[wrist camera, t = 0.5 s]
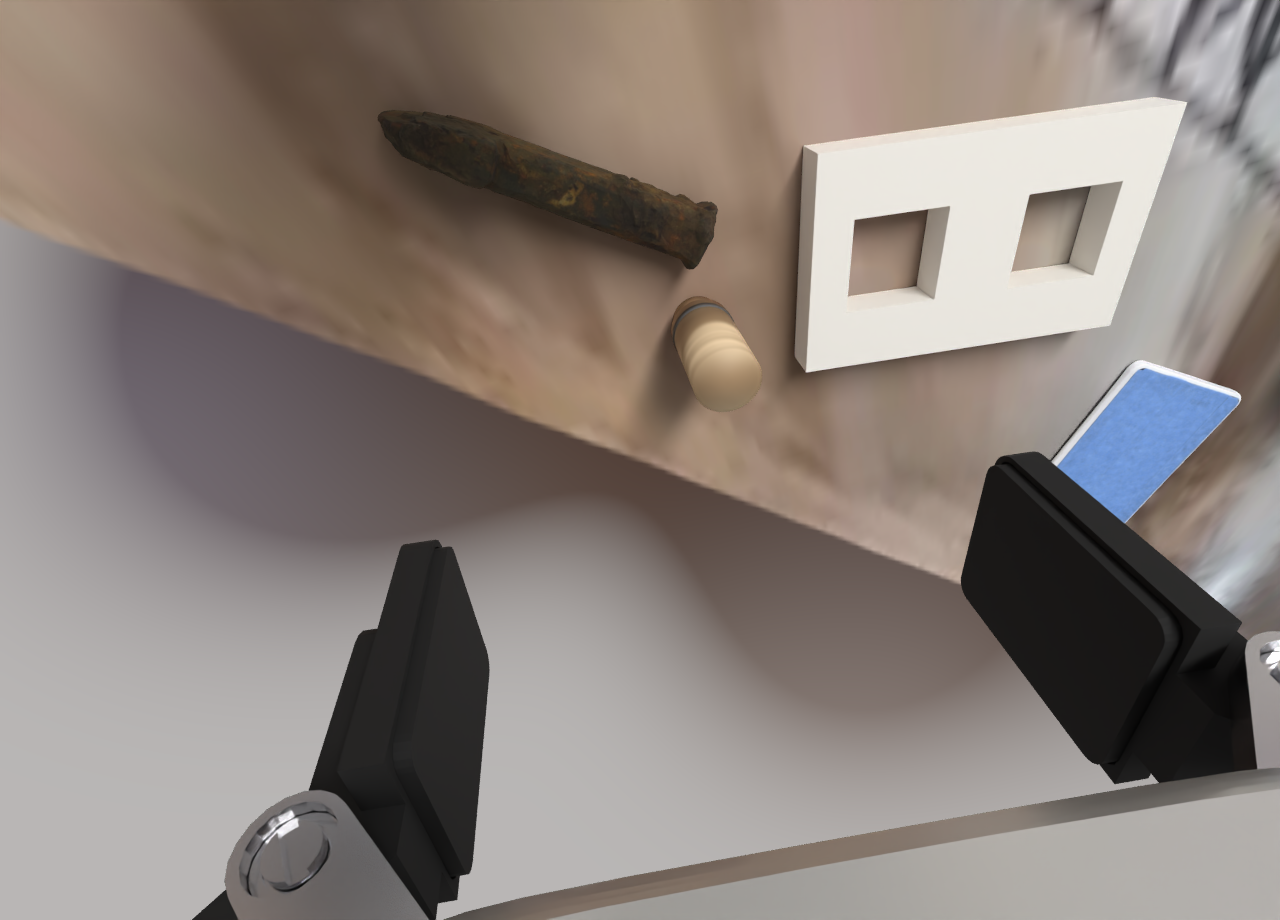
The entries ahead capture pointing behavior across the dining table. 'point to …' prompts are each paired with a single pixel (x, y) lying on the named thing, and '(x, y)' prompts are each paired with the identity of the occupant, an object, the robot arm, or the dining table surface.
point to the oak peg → (715, 355)
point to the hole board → (976, 229)
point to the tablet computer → (1142, 434)
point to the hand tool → (554, 182)
